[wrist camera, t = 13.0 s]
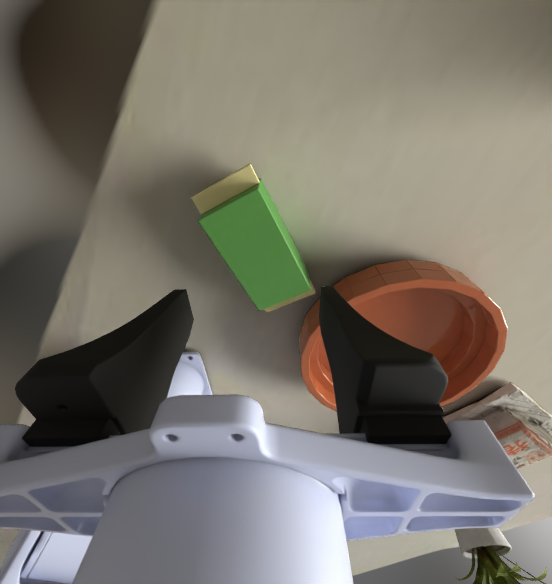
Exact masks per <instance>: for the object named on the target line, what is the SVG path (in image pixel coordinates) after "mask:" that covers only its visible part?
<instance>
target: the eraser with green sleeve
mask: <svg viewBox="0 0 552 584" xmlns="http://www.w3.org/2000/svg"><path fill="white" fill-rule="evenodd" d="M191 199H192V201H193V202H194V204H195V205H196V207H197V208H198V210H199V211H200V213H201V214H202V216H201V217H200V218H199V220H198V222H199V224H200V225H201V227H202V228H203V230H204V231H205V232H206V234H207V235H208V237H209V238H210V240H211V241H212V243H213V244H214V246H215V247H216V249H217V250H218V252H219V253H220V254H221V256H222V257H223V259H224V260H225V262H226V263H227V265H228V266H229V268H230V269H231V271H232V272H233V274H234V275H235V276H236V278H237V279H238V281H239V282H240V284H241V285H242V287H243V288H244V290H245V291H246V293H247V294H248V296H249V297H250V298H251V300H252V301H253V303H254V304H255V306H256V307H257V309H258V310H259V311H261V310H263V309H265V311H266V312H267V313H268V312H271V311H273V310H276V309H278V308H280V307H283V306H285V305H288V304H290V303H293V302H295V301H298V300H300V299H303V298H305V297H308V296H310V295H313V294H315V293H316V290H315V288H314V286H313V284H312V282H311V281H310V279H309V274H308V270H307V268H306V266H305V264H304V262H303V260H302V258H301V256H300V254H299V252H298V250H297V248H296V246H295V244H294V242H293V241H292V239H291V237H290V235H289V233H288V231H287V229H286V227H285V225H284V223H283V221H282V219H281V217H280V215H279V213H278V211H277V209H276V207H275V205H274V203H273V201H272V199H271V197H270V195H269V193H268V191H267V189H266V187H265V185H264V183H263V181H262V179H258V177H257V175H256V173H255V171H254V169H253V167H252V165H251V164H248V165H246V166H245V167H243V168H241V169H239V170H238V171H236V172H234V173H232V174H231V175H229V176H227V177H225V178H224V179H222V180H220V181H219V182H217V183H215V184H213V185H212V186H210V187H208V188H206V189H205V190H203V191H201V192H199V193H198V194H196V195H194V196H192V197H191Z"/></svg>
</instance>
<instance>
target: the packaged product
mask: <svg viewBox="0 0 552 584" xmlns="http://www.w3.org/2000/svg"><path fill="white" fill-rule="evenodd" d="M443 420H444V422H445V423H446V424H447V423H448V422H450V421H454V420H483V421H485V422H486V423H487V425H488V426H489V428H490V429H491V431H492V432H493V434H494V435H495V437H496V438H497V440H498V441H499V443H500V444H501V446H502V447H503V449H504V450H505V452H506V453H507V455H508V456H509V458H510V459H511V461H512V462H513V464H514V465H515V467H516V468H517V469H518V468H521V467H523V466H525V465H529V464H532V463H534V462H536V461H540V460H543V459H545V458H548V457H550V456H552V436H551V435H550V434H549V432H550V431H552V415H550V414H549V413H548V412H546V411H545V410H544V409H542V408H541V407H540V406H539V405H538V404H537V403H536V402H535V401H534V400H533V399H532V398H531V397H530V396H528V395H527V394H526V393H525V392H524V391H522V390H521V389H520V388H518V387H517V386H515V385H514V384H512V383H511V382H510V383H508V384H506V385H505V386H503V387H502V388H500V389H498V390H497V391H495V392H493V393H492V394H490V395H489V396H487V397H485V398H484V399H482V400H480V401H479V402H476V403H474V404H471V405H469V406H467V407H464V408H462V409H460V410H458V411H456V412H454V413H452V414H449V415H447V416H445V417H443Z"/></svg>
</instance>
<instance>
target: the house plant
mask: <svg viewBox="0 0 552 584" xmlns="http://www.w3.org/2000/svg"><path fill="white" fill-rule="evenodd" d="M455 532H456V536H457V539H458V543H459V546H460V550H461V553H462V555H463V556H464V557H466V558H472V568H471V571H470V572H469V574H468V575H467V576H466V577H464V578H462V579H458V580H464V579H467V578H469V577H470V576H471V574H472V573H473V570H474V567H475V559H477V560H478V568H477V572H476V579H475V581H474V583H473V584H482V581H483V580H484V581H483V584H490V583H489V578H490V580H491V582H492V584H520V583H519V582H518V581H517V580H516V579H515V578H517V579H520V580H524V579H523V578H525V579H528V580H532V581H536V580H538V581H540V580H542V579H544V578H545V576H546V572H547V570H545V572H544V573H543V574H542V575H541V576H539V577H538V578H535V577H534V576H532V575H531V574H529V573H528V572H526V573H528V574H529V575H531V576H532V577H534V578H531V579H530V578H526V577H522V576H521V575H519V574H518V573H516V572H521V570H520V569H521V568H520V567H518V565H517V563H516V566H515V567H514V568H513V569H511V568H509V567H508V566H507V565H506V564H505V563H504V562H503V561H502V560H501V559H500V557H499V556H503V555H505V554H507V553H509V552H511V550H512V547H511V546H510V544H509V543H508V542H507V540H506V539H505V537H504V536H503V534H502V533H501V531H500V530H499V528H464V529H455ZM507 560H508V559H507ZM510 562H511V561H510ZM511 563H512V562H511ZM513 564H514V563H513ZM519 568H520V569H519ZM522 570H523V569H522ZM514 571H516V572H514ZM523 571H524V570H523ZM514 577H515V578H514ZM521 577H522V578H521ZM540 582H542V581H540ZM542 583H543V582H542ZM543 584H544V583H543Z"/></svg>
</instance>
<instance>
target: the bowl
mask: <svg viewBox="0 0 552 584" xmlns="http://www.w3.org/2000/svg"><path fill="white" fill-rule="evenodd" d="M333 287H334V288H335V289H336V291H337V292H338V293H339V294H340V295H341V296H342V297H343V298H344V299H345V300H346V301H347V303H348V304H350V305H351V306H352V307H353V308H354V309H355V310H356V311H357V312H358V313H359V314H360V315H362V316H363V317H364V318H365V319H366V320H368V321H369V322H371V323H372V324H373V325H375V326H376V327H378V328H379V329H381V330H382V331H384V332H386V333H387V334H389V335H391V336H393V337H395V338H396V339H398V340H400V341H402V342H405V343H407V344H409V345H411V346H413V347H416V348H418V349H421V350H424V351H426V352H429V353H431V354H433V355H434V356H435V358H436V359H437V360H438V362H439V363H440V365H441V366H442V368H443V370H444V371H445V373H446V374H447V376H448V384H447V388H446V390H445V392H444V394H443V396H442V398H441V400H440V402H439V404H440V406H441V407H442V406H444V405H447V404H449V403H451V402H453V401H456V400H457V399H459V398H460V397H462V396H464V395H465V394H467V393H468V392H470V391H471V390H473V389H474V388H476V386H478V385H479V384H480V383H481V382H482V381H483V380H484V379H485V378H486V377H487V376H488V375H489V374H490V373H491V372H492V371H493V369H494V368H495V366H496V364H497V362H498V361H499V359H500V357H501V355H502V354H503V352H504V349H505V344H506V337H507V329H508V328H507V325H506V322H505V319H504V316H503V313H502V311H501V308H500V307H499V306H498V305H497V304H496V303H495V302H494V301H493V300H491V299H490V298H489V297H488V296H487V295H486V294H485V293H484V292H483V291H482V290H481V289H480V288H478V287H477V286H476V285H475V284H474V283H473V282H471V281H470V280H469V279H468V278H467V277H466V276H465V275H463V274H462V273H461V272H459V271H456V270H454V269H451V268H449V267H446V266H444V265H441V264H439V263H436V262H426V261H414V260H401V261H396V262H390V263H384V264H378V265H374V266H371V267H369V268H367V269H364V270H362V271H360V272H357V273H355V274H352V275H350V276H348V277H346V278H344V279H342V280H341V281H340V282H338V283H337V284H336V285H334V286H333ZM319 308H320V298H319V299H318V300H317V302H316V303H315V304H314V305H313V307H312V308H311V309H310V310H309V312H308V313H307V315H306V317H305V320H304V322H303V325H302V328H301V331H300V333H299V351H300V363H301V374H302V377H303V380H304V382H305V384H306V386H307V388H308V391H309V392H310V393H311V394H312V395H313V396H314V397H315V398H316V399H317V400H318V401H319V402H320V403H321V404H323V405H324V406H326V407H328V408H330V409H332V410H334V411H336V412H337V408H336V401H335V394H334V387H333V380H332V374H331V370H330V365H329V362H328V358H327V354H326V351H325V347H324V343H323V339H322V336H321V330H320V323H319Z"/></svg>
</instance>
